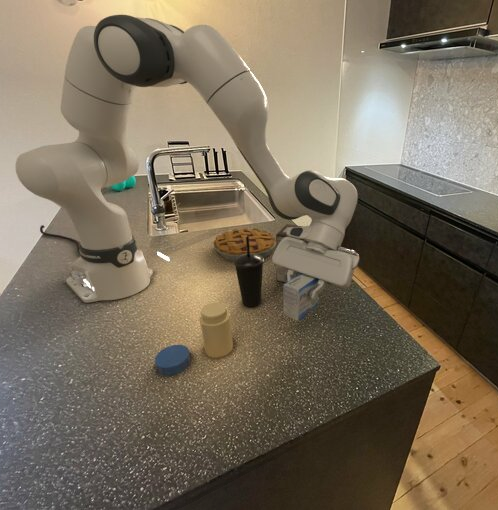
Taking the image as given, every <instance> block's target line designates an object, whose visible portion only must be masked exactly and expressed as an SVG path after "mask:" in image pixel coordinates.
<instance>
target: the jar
mask: <svg viewBox="0 0 498 510" xmlns="http://www.w3.org/2000/svg"><path fill="white" fill-rule="evenodd" d="M227 308H228V307H227V305H226V304H225V303H223V302H221V301H213V302H209V303H206V304H205V305H204V306H202V307H201V310H200V316H199V325H200V330H201V336H202V342H203V348H204V352H205V355H206V356H207V357H209V358H214V359H217V358H223V357H226V356H227V355H228V354H230V353H231V352H232V350H233V348H234V340H233V330H232V321H231V313H230V312H229V311H228V309H227Z"/></svg>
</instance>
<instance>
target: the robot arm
mask: <svg viewBox="0 0 498 510" xmlns="http://www.w3.org/2000/svg"><path fill="white" fill-rule="evenodd" d="M184 84H185V85H186V84H190V85H191V86H192V87H193V88H194V89H195V90H196V92H197V93H198V94H199V95H200V97H201V98H202V99H203V100H204V102H205V103H206V105H207V107H209V109H210V110H211V111H212V112H213V114H214V115H215V116H216V118H218V120H219V122H220V123H221V125H222V126H223V127H224V129H225V130H226V131H227V133H228V135H229V136H230V137H231V140H232V141H233V143H234V144H235V146H236V148H237V150H238V151H239V153H240V154H241V156H242V158H243V159H244V161H245V162H246V163H247V165H248V166H249V168H250V169H251V171H252V172H253V174H254V175H255V176H256V178H257V179H258V181H259V183H260V184H261V185H262V187H263V188H264V190H265V192H266V195H267V197H268V200H269V201H268V202H269V204H270V206H271V209H272V211H273V212H274V213H275V214H276V215H277V216H278V217H280V218H282V219H284V220H287V221H295V220H297V219H299V218H302V217H305V216H307V217H309V218H310V219H311V221H310V224H309V225H305V226H303V225H302V226H303V227H290V228H288V230H287V232H286V234H287V235H288V237H285V238H283V239H282V240H281V241H280V243H279V245H278V246H277V248H276V249H274V252H273V254H272V257H271V262H272V264H273V265H274V266H276V268H277V267H279V268H282V269H285V270H288V272H287V279H288V281H290V280H291V279H293V277H296V275H297V274H301V273H302V274H305V275H308V276H311V277H314V278H317V279H319V282H318V285H319V286H318V287H317V288H316V289H315V290H310V292H309V294H308V298H310V299H313V300H316V298H317V295H318V296H319V294H321V292H322V291H324V290H325V289H326V288H327V286H328V285H330V286H333V287H335V288H339V289H341V290H347V289H349V288H350V286H351V284H352V281H353V276H354V272H355V269H356V268H357V267H358V265H359V262H360V259H361V258H360V255H359V254H358V253H357V251H356V250H353V249H349V248H346V247H343V246H342V243H343V241H344V238H345V235H346V229H347V227H348V226H349V225H350V223H351V221H352V219H353V216H354V213H355V211H356V208H357V204H358V197H359V196H358V190H357V188H356V186H355V185H354V184H353V183H351V181H349V180H347V179H346V178H342V177H336V178H335V177H328V176H325V175H324V174H322V173H321V172H319V171H316V170H311V169H310V170H305V171H302V172H300V173H298V174H295V175H294V176H292V177H289V176H288V175H287V174H286V173H285V172H284V170H283V168H282V167H281V165H280V164H279V162H278V160H277V159H276V157H275V156H274V154H273V152H272V151H271V150H270V148H269V145H268V141H267V124H268V121H269V117H270V103H269V99H268V97H267V95H266V93H265V92H266V91H264V89H263V87H262V85H261V83H260V82H259V80H258V79H257V77H256V76H255V75H254V73H253V72H252V70H251V68H250V67H249V66H248V65H247V63H246V62H245V60H244V59H243V58H242V57H241V55H240V54H239V53H238V52H237V50H236V49H235V48H234V47H233V45H232V44H230V43H229V41H227V38H225V37H224V36H223V35H222V34H221V33H220V32H219V31H218V30H217V29H215V28H214V27H212V26H210V25H207V24H197V25H194V26H190V27H189V28H187V29H185V31H184V30H183V29H181V28H180V27H177V26H175V25H173V24H168V23H165V22H164V21H160V20H158V19H154V18H151V17H138V16H136V17H135V16H133V15H129V14H112V15H109V16H106V17H104V18H103V19H100V20H99V22H98V23H97V24H96V25H85V26H82V27H81V28H79V30H78V31H77V33H76V34H75V36H74V39H73V42H72V44H71V46H70V50H69V52H68V56H67V59H66V64H65V70H64V77H63V85H62V93H61V100H60V113H61V115H62V117H63V118H64V119H65V121H66V122H67V124H69V125H70V126H71V128H74V129H75V130H76V131H78V137H77V139H75V140H74V141H71V142H66V143H55V144H48V145H42V146H40V147H37V148H33V149H31V150H28V151H26V152H25V151H24V152H23V153H20V154H19V155H18V156H17V158H16V161H15V174H16V176H17V179H18V181H19V182H20V183H21V184H22V186H23V187H24V188H26V190H27V191H29V192H30V193H32V194H33V195H35V196H37V197H39V198H42V199H45V200H48V201H50V202H52V203H54V204H55V205H57V206H58V207H60V209H62V210H63V211H64V212H65V213H66V214H67V216H68V218H69V219H70V221H71V223H72V225H73V227H74V230H75V232H76V235H77V238H78V240H79V241H77V240H76V239H74V238H71V237H67V236H64V235H61V234H54V233H47V232H45V231H44V228H45V225H44V224H41V225H40V227H39V232H40V233H41V235H44V236H48V237H56V238H61V239H64V240H68V241H71V242H72V243H75V244H76V251H77V252H78V254H79V257H78V258H77V259H75V260H74V261H73V263H72V264H71V267H72V271H70V272H69V275H70V276H69V277H67V278H66V279H65V281H66V282H65V284H66V285H67V286H68V287H69V288H70V289H71V291H73V293H75V295H77V297H78V298H79V299H80V300H81V301H82V302H83V303H85V304H91V303H94V302H99V301H114V300H115V301H116V300H120V299H125V298H128V297H132V296H134V295H136V294H138V293H140V292H142V291H144V290H145V289H146V288H147V287H148V286H149V285H150V284H151V277H152V275H153V274H154V270H153V269H152V268H148V264H147V261H146V259H145V256H144V254H143V251H142V250H140V249H138V245H137V241H136V238H135V237H134V235H133V234H132V231H131V226H130V223H129V217H128V215H127V212H126V210H125V209H123V208H122V207H121V206H119V205H117V204H115V203H112V202H108V201H107V200H106V198H105V197H104V195H103V191H102V189H104V188H108V187H109V186H112V185H115V184H119V183H122V182H124V181H126V180H127V179H129V178H130V177H132V176H133V175H134V176H136V174H137V172H138V171H139V168H140V167H139V166H140V165H139V159H138V156H137V154H136V153H135V151H134V149H133V148H132V147H130V146H129V145H128V143H127V127H128V126H127V125H128V121H129V116H130V113H131V107H132V103H133V99H134V95H135V91H136V88H148V87H151V88H168V87H171V86H176V85H184ZM156 253H157V256H159V257H160V258H162V259H163V260H165V261H168V262H170V257H169V256H166V255H164V254H163V253H161V252H159V251H157V252H156Z"/></svg>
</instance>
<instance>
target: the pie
mask: <svg viewBox="0 0 498 510" xmlns="http://www.w3.org/2000/svg"><path fill="white" fill-rule="evenodd" d="M246 237H249V249H250V253H256V254H259V255H261V256H263V258H264V259H265V258H267V256H270V255H271V253H272V251H273V249H274V248H275V246H276V237H274V236H273V234H272V233H271V232H269V233H268V231H266V230H260V229H259V228H252V229H248V228H247V227H246V228H245V227H244V228H241V229H237V228H235V229H232V230H231V231H225V232H222V233H221V234H218V235H216V237H215V239H214V240H213V242H212V243H213V248H214V249H215V250H216V251H217V252H218V254H219V255H220V256H221V257H222V258H224V259H225V260H227V261H229V262H233V260H234V258H235V257H237V256H238V255H241V254H245V253H247V245H246Z"/></svg>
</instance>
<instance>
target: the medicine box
mask: <svg viewBox="0 0 498 510" xmlns="http://www.w3.org/2000/svg"><path fill="white" fill-rule="evenodd" d="M318 282H319V279H317V278H314V277H311V276H308V275H305V274H302V273H301V274H299V275H298V276H296V277H295V278H293V279H291V280H290V281H288V282H285V283H284V284H283V285H282V289H283V299H282V300H283V315H284V316H286V317H288V318H290V319H292V320H294V321H296V322H299V321H300V320H302V319H303V318H304V317H306V316H307V315H308V314H309V313H311V311H313V310H314V309H315V308H316V307H318V305H319V294H318V295H317V298H316V300H313V299H310V298H308V294H309V292H310V290H315V289H316V288H317V287H318V286H319V285H318Z"/></svg>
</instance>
